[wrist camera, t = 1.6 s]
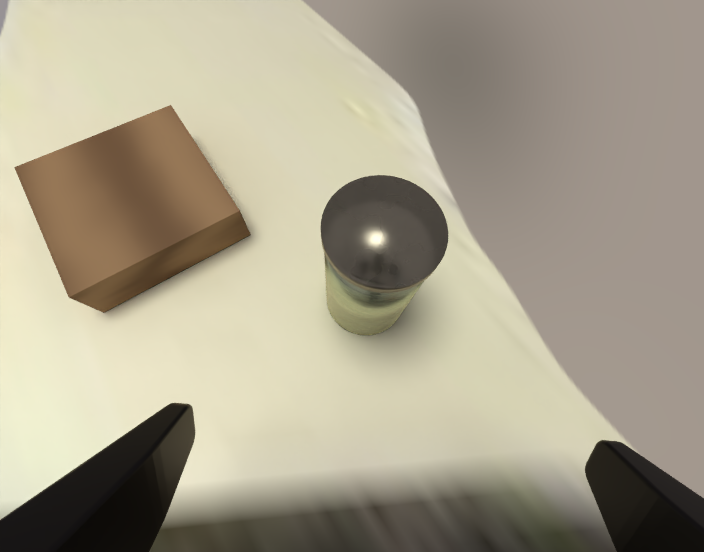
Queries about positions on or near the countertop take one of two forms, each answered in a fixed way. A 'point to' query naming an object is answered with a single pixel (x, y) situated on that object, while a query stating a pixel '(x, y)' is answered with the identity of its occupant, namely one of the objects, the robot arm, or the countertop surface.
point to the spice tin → (379, 250)
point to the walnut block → (129, 208)
